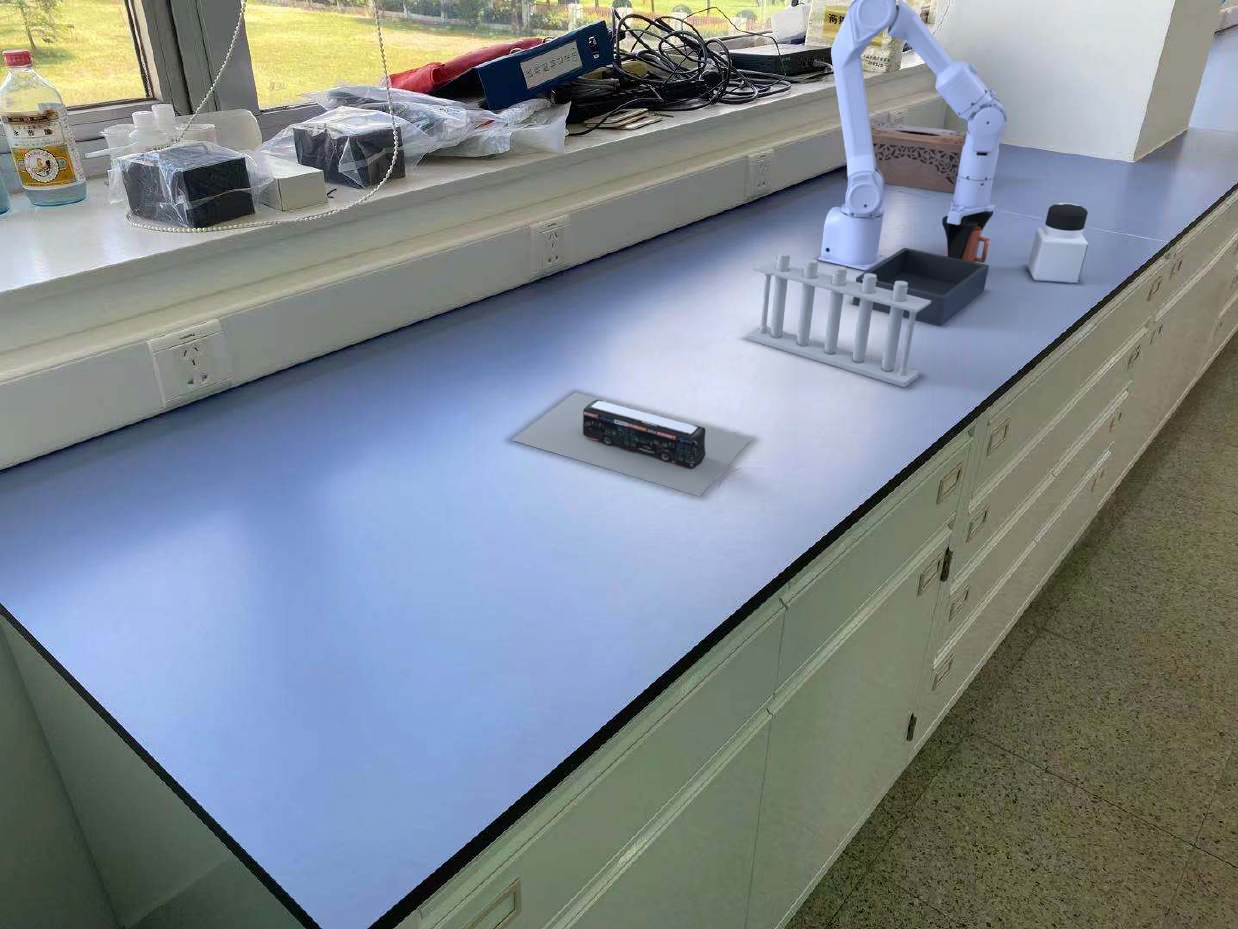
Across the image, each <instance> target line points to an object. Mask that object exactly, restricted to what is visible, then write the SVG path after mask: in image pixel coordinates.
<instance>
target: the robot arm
mask: <svg viewBox="0 0 1238 929" xmlns="http://www.w3.org/2000/svg"><path fill="white" fill-rule="evenodd" d="M886 29H887V36H888V37H892V38H896V39H901V40H904V41H905V42H906V43H907V44H908V45H909V46H910V47H911V49H912V50H913V51H914V52H915V53H916V54H917V55H918V56H919V57H920V59H921V60H922V61H923V62H924V64H926V65H927V66H928V68H929V69H930V70H931V71H932V72H933V73H934V74H935V76H936V78H935V79H936V80H935V85H934V87H935V91H937V92H938V94H939V95H940V96H941V97H942V98H943V100H945V102H946V103H947V105H949V107H950V108H951V110H953V112H954V113H955V114H956V115H957V116H958V118H959V119H964V120H965V124H966V126H967V130H966V132H967V134H966V140H965V144H964V146H963V148H962V154H961V160H960V165H959V171H958V176H957V181H956V187H955V192H954V193H953V199H951V203H950V210H949V211H948V212H947V215H945V216H943V217H942V219H941V225H942V227H943V230H944V232H945V236H946V248H947V249H948V257H952V258H957V259H962V257H963V255H964V253H965V250H966V246H967V243H968V241H969V238H970V236H971V234H972V232H973V231H974V229H975V228H976V226H979V227H981V229H982V231H983V230H984V228H986V227H985V226H986V225H987V224H988V222H989V220H990V219H991V218H992V217H993V215H994V211H995V209H996V205H995V204H992V203H991V197H992V193H991V192H992V189H993V184H994V178H995V173H996V169H997V163H998V158H999V153H1000V148H999V147H1000V144H1001V142H1002V136H1003V135H1004V133H1005V132H1006V130H1007V128H1008V124H1009V123H1008V117H1007V113H1006V110H1005V109H1004V106H1003V105H1002V103H1001V102H1000V99H999V98H997V97H996V96H997V93H996V92H995V91H994V89H990V90H989V88H988V87H987V86H986V85H985V84H984V82H983V81H982V80H981V78H980V77H979V76H978V75H977V73H978V72H979V70H978V68H977V67H976V65H975V64H973V63H972V64H970V65H969V64H968V63H967V61H965V60H953V59H952V58H951V57H950V55H949V54H948V52H946V50H945V48H944V47H943V46H942V44H940V43H939V41H938V40H937V38H936V37H935V36H934V35H933V33H932V32H931V31H930V29H929V28H928V26H927V25H926V24H925V23H924V21H923V20H922V19H921V18H920V16H919V15H918V13H916V12H915V10H913V9H912V8H911V7H910V6H909V5H908V3H906V2H905V1H904V0H853V1H852V2H850V5H849V7H848V9H847V11H846V13H845V15H844V18H843V20H842V23H841V25H840V27H839V29H838V32H837V34H836V36H835V37H834V38H835V39H834V40H833V42H832V45H831V47H830V57H831V62H832V69H833V76H834V83H835V89H836V90H835V91H836V97H837V102H838V103H837V104H838V110H839V116H840V123H841V132H842V138H843V145H844V152H845V157H846V158H845V159H846V173H847V172H848V178H847V189H846V192H845V203H843V204H842V205H841V206H833V207H832V208H831V209H830V210H829V211H828V213H827V215H826V217H825V221H824V225H823V235H822V240H821V241H822V242H821V249H820V250H821V251H820V256H819V257H818V260H819V261H821V262H827V263H831V264H835V265H838V266H843V267H847V268H848V267H849V268H853V269H858V270H862V271H868V270H869V269H871V268H872V267H874V266H876V265H877V264H879V263H880V262H882V261H884V260H885V259H887V258H886V256H885V255H880V254H879V247H880V241H881V233H882V228H883V222H884V214H885V208H883V203H884V199H885V193H884V190H885V183H884V178H883V175H882V174H881V172H880V171H879V170H878V168H877V165H876V159H875V154H874V149H873V142H872V134H871V127H870V122H871V121H870V112H869V106H868V98H867V97H868V96H867V90H866V84H865V75H864V69H863V68H864V67H863V60H862V55H863V53H864V52H865V51H866V50H867V48H868V47H869V45H870V44H871V42H872V41H873V39H875V38H876V37H877V36H879V35H880V34H882V33H883V32H884V31H885V30H886Z"/></svg>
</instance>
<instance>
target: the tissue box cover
mask: <svg viewBox="0 0 1238 929" xmlns="http://www.w3.org/2000/svg"><path fill="white" fill-rule="evenodd" d="M870 127H871V134H872V142H873V149H874V154H875V159H876V165H877V168H878V170H879V171H880V172H881V174H882V175H883V178H884V184H890V185H896V186H903V187H910V188H917V189H923V190H924V189H925V190H931V191H938V192H945V193H952V194H954V192H955V187H956V181H957V176H958V171H959V165H960V160H961V154H962V148H963V146H964V144H965V140H966V134H967V131H963V130H956V129H955V130H954V129H947V128H939V127H929V126H923V125H922V126H921V125H913V124H912V125H911V124H903V123H894V122H886V121H877V120H872V121H870ZM845 178H847V179H848V172H847V171H846V174H845Z"/></svg>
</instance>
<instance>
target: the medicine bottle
mask: <svg viewBox="0 0 1238 929" xmlns="http://www.w3.org/2000/svg"><path fill="white" fill-rule="evenodd" d="M1088 213H1089V212H1088V210H1087V209H1086V208H1085V207H1083V206H1081V205H1079V204H1076V203H1071V202H1070V203H1069V202H1059V203H1055V204H1052V205H1051V206H1049V208H1048V211H1047V214H1046V219H1045V223H1044V226H1043V227H1037V228H1036V229H1035V233H1034V237H1033V241H1032V246H1031V249H1030V250H1031V251H1030V255H1029V258H1028V259H1029V260H1028V264H1027V268H1028V270H1029V272H1030V275H1031V276H1032V278H1033V280H1034V281H1037V282H1050V283H1065V284H1066V283H1067V284H1078V283H1079V281H1080V277H1081V273H1082V270H1083V266H1084V261H1085V258H1086V254H1087V251H1088V247H1089V242H1088V241H1087V239H1086V238H1085V236H1084V235H1083V232H1084V229H1085V226H1086V222H1087V218H1088Z"/></svg>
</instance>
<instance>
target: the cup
mask: <svg viewBox="0 0 1238 929" xmlns="http://www.w3.org/2000/svg"><path fill="white" fill-rule="evenodd" d="M982 232H983V230H982V229H981V227H979V226H976V228H975V229H974V231H973V232H972V234H971V236H970V238H969V241H968V243H967V246H966V250H965V253H964V255H963V257H962V259H961V260H966V261H971V262H976V263H981V264H985V262H986V259H987V254H988V249H989V245H990V238H989V237H986V236H982ZM980 242H984V243H983V249H982V253H981V257H978V252H979V251H978V250H979V246H980ZM944 256H947V257H948V249H947V247H946V249H945V254H944Z"/></svg>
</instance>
